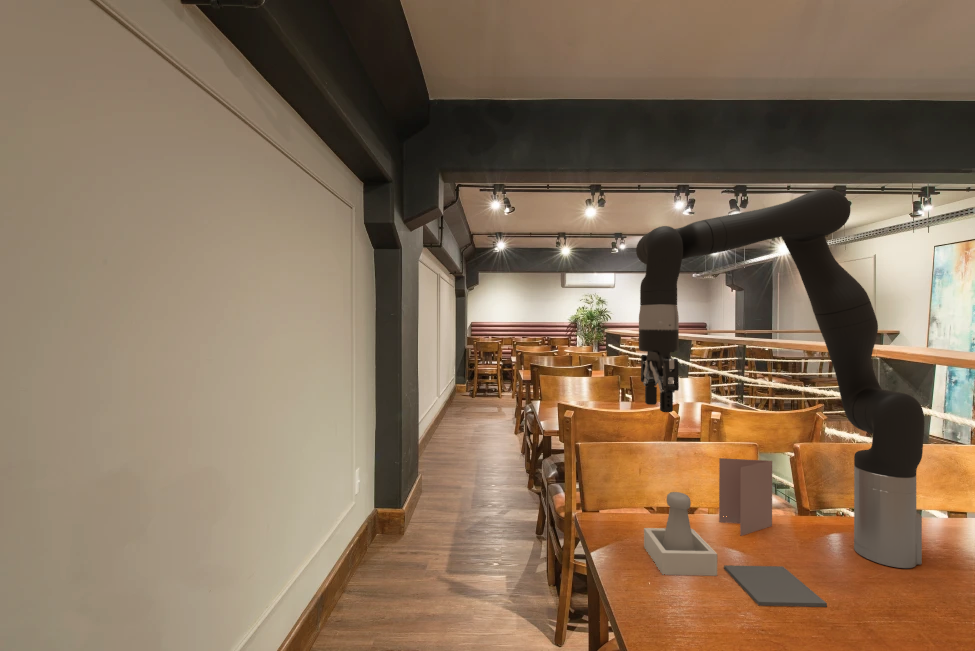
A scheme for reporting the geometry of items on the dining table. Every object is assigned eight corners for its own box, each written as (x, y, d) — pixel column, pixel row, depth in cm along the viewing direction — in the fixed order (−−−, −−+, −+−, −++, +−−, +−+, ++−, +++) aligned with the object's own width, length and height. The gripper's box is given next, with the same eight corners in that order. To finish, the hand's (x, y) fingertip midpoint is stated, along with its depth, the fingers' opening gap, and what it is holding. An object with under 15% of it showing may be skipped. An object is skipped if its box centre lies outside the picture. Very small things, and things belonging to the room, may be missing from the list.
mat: (782, 569, 82) (782, 566, 82) (826, 606, 71) (826, 603, 71) (723, 568, 83) (723, 565, 83) (758, 605, 72) (758, 601, 72)
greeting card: (770, 524, 102) (770, 459, 102) (787, 539, 94) (787, 469, 94) (717, 520, 103) (718, 457, 103) (730, 535, 96) (730, 467, 96)
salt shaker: (688, 554, 88) (688, 489, 88) (699, 569, 82) (700, 500, 82) (658, 552, 88) (658, 488, 88) (667, 567, 83) (667, 499, 83)
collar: (692, 548, 90) (692, 528, 90) (717, 575, 80) (717, 553, 80) (643, 547, 90) (644, 528, 90) (662, 574, 80) (662, 552, 80)
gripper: (692, 328, 81) (692, 415, 81) (663, 328, 95) (663, 402, 95) (652, 327, 81) (651, 414, 81) (629, 327, 96) (629, 401, 96)
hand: (658, 407), depth 88 cm, fingers open, 8 cm apart
